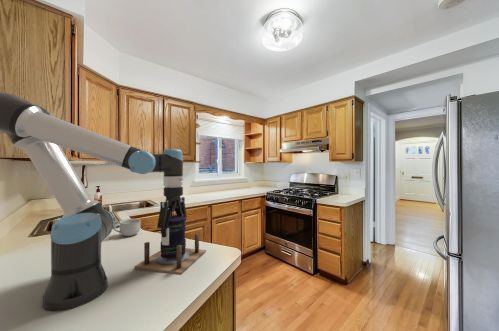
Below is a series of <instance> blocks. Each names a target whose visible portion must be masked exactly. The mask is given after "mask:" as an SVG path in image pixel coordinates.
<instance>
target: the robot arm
mask: <svg viewBox="0 0 499 331" xmlns="http://www.w3.org/2000/svg"><path fill="white" fill-rule="evenodd" d="M0 133H3V134H6V136H7V137H8V139H9V140H10V142H11V143H12V145H13V146H14V148H17V149H21V150H24V152H25V154H26V155H27V156H28V158H29V160H30V161H31V162H32V164H33V165H34V167H35V169H36V170H37V172H38V174H39V176H40V177H41V178H42V180H43V181H44V183H45V184H46V186H47V187H48V189H49V191H50V192H51V194H52V195H53V196H54V198H55V200H56V202H57V203H58V205H59V206H60V208H61V210H62V211H63V215H62V217H61V218H59V219H57V220H55V221H54V223H53V224H52V226H51V231H50V235H49V237H50V262H51V263H50V268H51V269H50V270H51V271H50V277H49V280H48V283H47V286H46V288H45V291H44V293H43V295H42V300H41V301H42V303H41V304H42V305H41V306H42V308H43V309H44V310H45V309H47V310H46V311H49V310H54V311H53V312H56V311H55V310H60V311H65V310H70V309H73V308H74V309H75V308H77V307H80V306H83V305H85V304H87V303H89V302H91V301H93V300H95V299H97V298H99V297H100V296H101V295H103V294H104V292H106V290H107V289H108V282H109V281H108V280H109V279H108V277H107V274H106V271H105V269H104V267H103V265H102V243H103V242H104V240H105V239H107V237H109V235H110V234H111V233H112V231H113V230H114V227H113V226H114V223H115V220H114V219H115V218H114V216H113V215H112V213H111V212H109V211H108V210H107V209H105V208H104V207H103V205H102V203H101V202H100V201H99V200H95V199H93V198H92V197H91V195H90V193H89V191H88V190H87V188H86V187H85V185H84V184H83V181H82V180H81V178H80V177H79V175H78V173H77V172H76V170H75V168H74V166H73V165H72V163H71V162H70V160H69V159H68V156H66V154H65V152H64V150H63V149H62V148H65V149H68V150H71V151H74V152H77V153H80V154H82V155H86V156H89V157H92V158H95V159H97V160H101V161H104V162H106V163H109V164H113V165H116V166H119V167H122V168H124V169H127V170H129V171H130V172H131V173H136V174H139V175H146V174H149V173H163V186H164V187H163V196H164V197H165V201H161V202H159V204H160V205H159V206H160V209H159V216H158V219H157V220H158V221H157V229H160V234H162V235H161V236H162V245H169V228H168V224H169V221H170V218H171V215H173V212H174V211H175V212H174V213H175V215H177V216H182V215H183V216H185V222H186V221H187V219H188V218H187V209H186V200H185V199H186V198H185V197H184V196H183V195H184V187H183V185H184V182H183V181H184V179H183V176H184V175H183V174H184V157H183V156H184V155H183V151H182V150H181V149H177V148H165V149H163V152H162V153H151V152H150V151H147V150H143V149H141V148H137V147H135V146H132V145H130V144H127V143H124V142H122V141H119V140H116V139H115V138H111V137H109V136H106V135H104V134H101V133H98V132H95V131H93V130H89V129H87V128H84V127H82V126H80V125H77V124H74V123H72V122H69V121H66V120H63V119H60V118H59V117H56V116H53V114H51V112H49V111H47V109H44V107H42V106H39V105H37V104H35V103H32V102H30V101H28V100H26V99H24V98H22V97H20V96H17V95H15V94H12V93H9V92H1V91H0Z"/></svg>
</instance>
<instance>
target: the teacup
mask: <svg viewBox="0 0 499 331" xmlns="http://www.w3.org/2000/svg"><path fill="white" fill-rule="evenodd" d="M119 222H120V224H116V225H115V226H114V227H113V230H114V231H115V232H116V233H119V235H120V234H121V235H123V237H133V236H135V235H137V233H139V232H140V231H141V223H142V220H141V219H140V218H126V219H122V220H120V221H119ZM117 227H119V229H117Z"/></svg>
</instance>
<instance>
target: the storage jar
mask: <svg viewBox="0 0 499 331" xmlns="http://www.w3.org/2000/svg"><path fill="white" fill-rule="evenodd" d="M186 226H187V224H186V221H185V216H183V215H182V216H177V214H175V215H173V214H171V218H170V221H169V224H168V228H169V245H162V236H161V240H160V249H159V250H161V257H162V258H164V259H174V258H176V253H177V246H178V245H181V246H182V256H183V255H184V254H185V248H187V247H186V246H187V243H186V242H187V239H186V229H187V228H186ZM160 234H161V233H160ZM161 235H162V234H161Z"/></svg>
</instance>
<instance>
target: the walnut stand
mask: <svg viewBox="0 0 499 331" xmlns="http://www.w3.org/2000/svg"><path fill="white" fill-rule="evenodd" d="M150 244H151V243H150V242H149V241H146V242H144V253H143V254H144V255H143V256H144V260H143V261H141V262H139V263H138V264H136V265H134V270H138V271H149V272H157V273H158V272H159V273H167V274H175V275H183V274H184V273H185V272H186V271H187V270H189V268H190V267H191V266H192V265H193V264H195V263H196V262H197V261H198V260H199V259H200V258H201V257H203V256H204V254H206V253H207V250H206V249H200V234H199V233H197V232H196V233H194V248H187V247H185V254H184V255H183V256H182V246H181V245H178V246H177V253H176V258H174V259H164V258H162V257H161V249H159V250H158V251H157V252H155V253H153V254H152V255H151V256H150V249H151V248H150Z"/></svg>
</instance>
